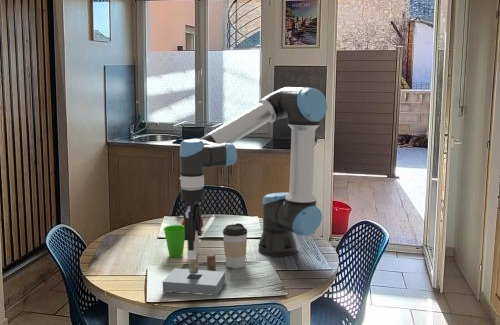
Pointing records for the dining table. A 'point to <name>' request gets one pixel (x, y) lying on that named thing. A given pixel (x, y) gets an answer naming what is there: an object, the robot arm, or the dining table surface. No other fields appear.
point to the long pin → (194, 263)
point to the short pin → (211, 262)
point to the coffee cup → (235, 245)
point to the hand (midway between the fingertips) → (193, 257)
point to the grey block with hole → (194, 281)
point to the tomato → (201, 222)
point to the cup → (175, 239)
